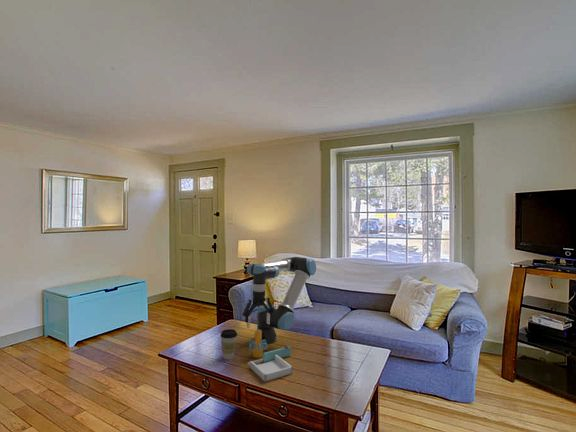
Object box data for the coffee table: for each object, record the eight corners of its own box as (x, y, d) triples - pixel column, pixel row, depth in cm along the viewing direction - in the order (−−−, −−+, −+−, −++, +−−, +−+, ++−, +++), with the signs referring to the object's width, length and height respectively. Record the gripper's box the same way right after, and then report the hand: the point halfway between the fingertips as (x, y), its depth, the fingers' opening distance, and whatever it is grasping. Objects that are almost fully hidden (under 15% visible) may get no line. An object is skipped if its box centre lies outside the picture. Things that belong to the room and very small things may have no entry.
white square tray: (273, 358, 182) (273, 352, 182) (292, 373, 164) (292, 366, 164) (247, 365, 173) (247, 358, 173) (264, 381, 155) (264, 375, 155)
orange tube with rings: (270, 353, 188) (271, 329, 188) (263, 361, 178) (264, 335, 178) (252, 350, 192) (252, 326, 192) (244, 357, 182) (245, 332, 182)
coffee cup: (233, 361, 176) (233, 335, 177) (217, 359, 178) (217, 334, 179) (239, 354, 186) (239, 329, 186) (224, 352, 188) (224, 328, 188)
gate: (288, 354, 187) (289, 344, 187) (290, 355, 185) (290, 345, 185) (262, 361, 177) (263, 350, 177) (264, 362, 176) (264, 352, 176)
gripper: (273, 287, 195) (273, 320, 195) (237, 291, 182) (236, 327, 182) (279, 289, 189) (279, 324, 189) (242, 294, 175) (241, 331, 175)
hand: (258, 325), depth 185 cm, fingers open, 13 cm apart
